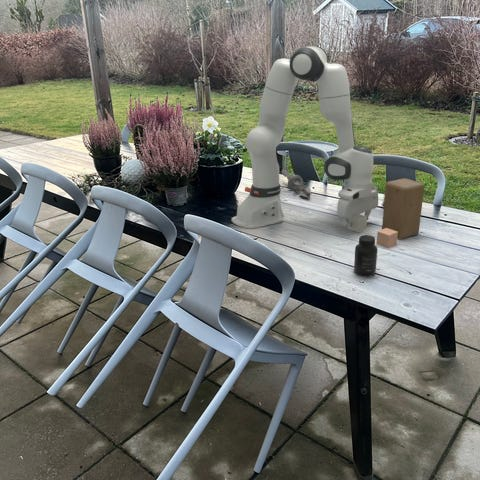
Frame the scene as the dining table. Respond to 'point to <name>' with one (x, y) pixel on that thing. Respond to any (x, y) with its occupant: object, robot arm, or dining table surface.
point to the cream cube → (358, 222)
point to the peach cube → (387, 237)
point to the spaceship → (297, 184)
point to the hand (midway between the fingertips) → (357, 223)
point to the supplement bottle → (365, 256)
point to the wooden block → (403, 207)
